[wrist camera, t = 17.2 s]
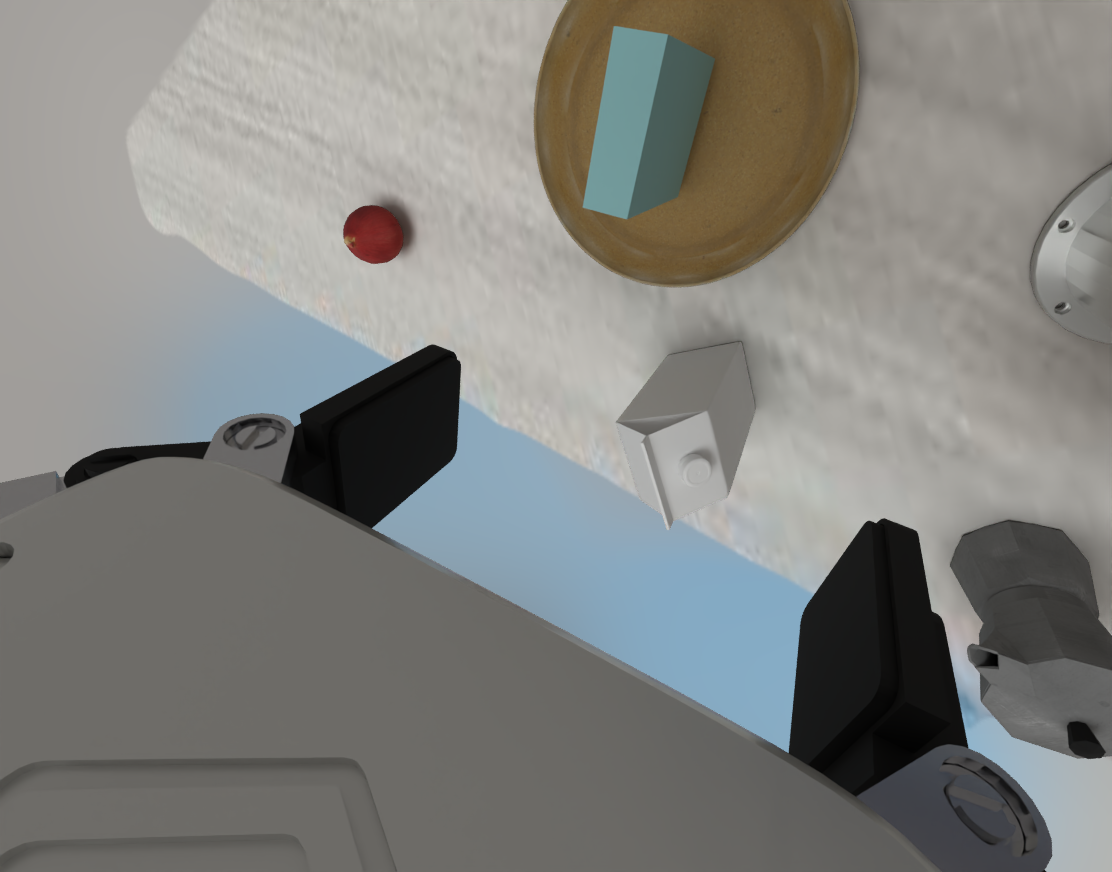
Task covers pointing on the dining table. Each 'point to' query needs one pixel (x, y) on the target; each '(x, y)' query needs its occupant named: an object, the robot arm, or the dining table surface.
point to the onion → (373, 234)
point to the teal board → (645, 121)
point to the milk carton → (689, 429)
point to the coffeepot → (1038, 637)
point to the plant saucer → (706, 130)
